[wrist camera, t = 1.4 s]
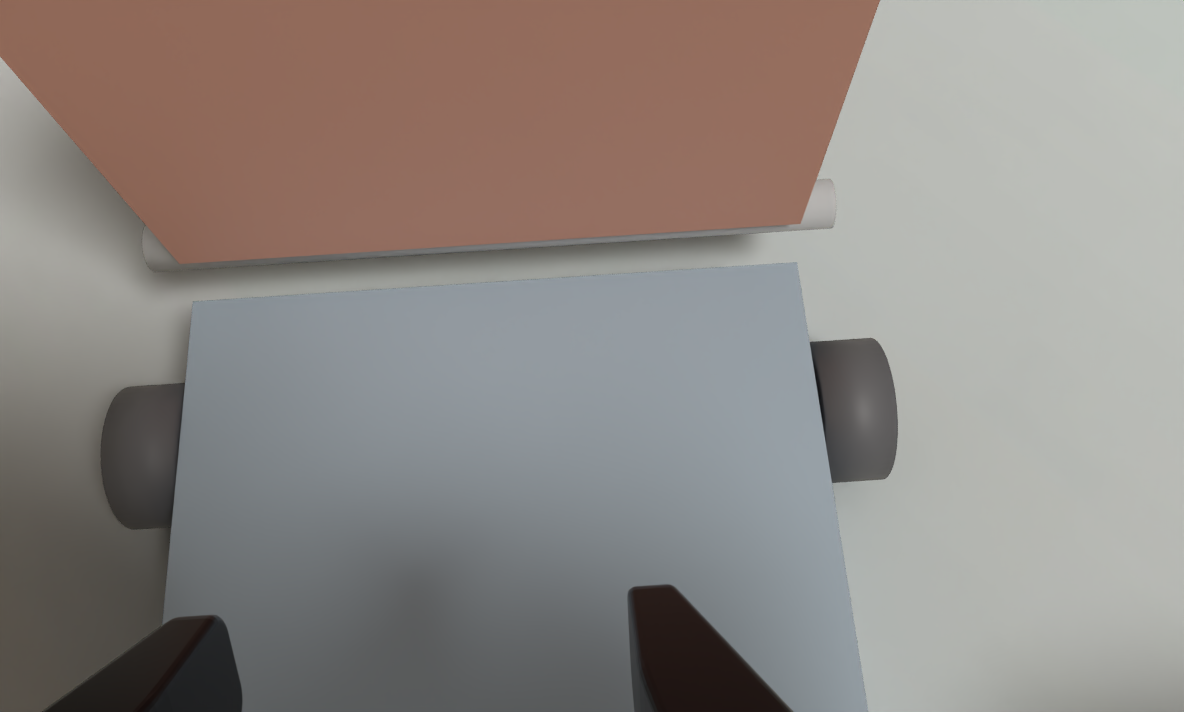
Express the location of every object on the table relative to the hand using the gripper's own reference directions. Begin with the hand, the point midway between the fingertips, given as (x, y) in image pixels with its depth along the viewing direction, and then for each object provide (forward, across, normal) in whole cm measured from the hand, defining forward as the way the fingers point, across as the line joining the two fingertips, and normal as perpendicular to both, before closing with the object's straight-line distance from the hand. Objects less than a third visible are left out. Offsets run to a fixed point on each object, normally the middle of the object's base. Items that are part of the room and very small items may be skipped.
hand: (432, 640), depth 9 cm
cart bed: (+7, 0, +7) cm, 10 cm away
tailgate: (+10, 0, -1) cm, 11 cm away
